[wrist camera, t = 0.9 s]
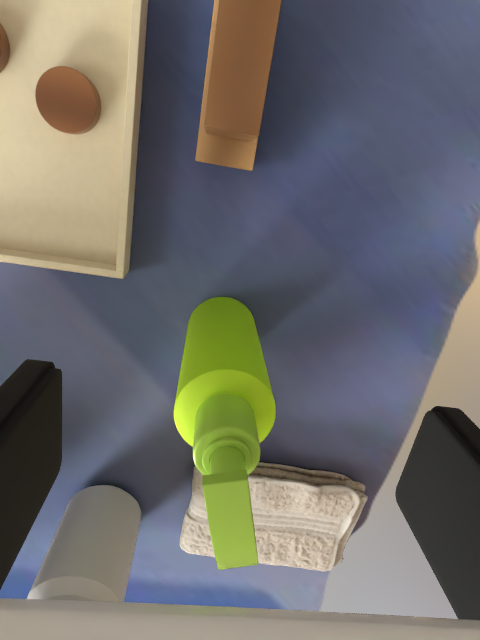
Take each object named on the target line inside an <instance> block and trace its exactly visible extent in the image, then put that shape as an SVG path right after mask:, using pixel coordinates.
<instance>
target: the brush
mask: <svg viewBox="0 0 480 640" xmlns="http://www.w3.org/2000/svg"><path fill="white" fill-rule="evenodd" d="M281 2H282V0H214V7H213V16H212V24H211V33H210V41H209V49H208V58H207V66H206V75H205V83H204V91H203V100H202V108H201V117H200V125H199V134H198V142H197V150H196V159H195V160H196V161H199V162H204V163H210V164H216V165H221V166H227V167H232V168H238V169H244V170H249V171H253V166H254V160H255V154H256V148H257V142H258V136H259V133H260V127H261V121H262V115H263V109H264V103H265V97H266V91H267V85H268V79H269V73H270V67H271V61H272V55H273V50H274V44H275V38H276V32H277V26H278V20H279V14H280V8H281Z"/></svg>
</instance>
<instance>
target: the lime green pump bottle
mask: <svg viewBox="0 0 480 640" xmlns="http://www.w3.org/2000/svg"><path fill="white" fill-rule="evenodd" d="M275 416H276V407H275V401H274V397H273V393H272V389H271V385H270V381H269V377H268V373H267V369H266V365H265V361H264V357H263V353H262V349H261V345H260V341H259V337H258V333H257V329H256V325H255V321H254V318H253V316H252V314H251V312H250V311H249V309H248V308H247V307H246V306H245V305H244V304H242V303H241V302H239V301H238V300H235V299H233V298H229V297H215V298H211V299H208V300H206V301H204V302H202V303H201V304H200V305H199V306H197V307H196V309H195V310H194V311H193V313H192V314H191V316H190V319H189V323H188V328H187V334H186V340H185V346H184V352H183V358H182V364H181V370H180V376H179V382H178V388H177V394H176V400H175V406H174V421H175V424H176V427H177V430H178V432H179V433H180V435H181V436H182V438H183V439H184V440H185V441H186V442H187V443H188V444H190V445H191V446H192V447H193V460H194V463H195V466H196V468H197V469H198V470H199V471H200V473H202V474H203V479H202V487H203V493H204V499H205V506H206V512H207V518H208V524H209V529H210V535H211V540H212V545H213V550H214V554H215V558H216V562H217V566H218V569H219V570H221V569H229V568H237V567H244V566H252V565H258V555H257V546H256V538H255V530H254V522H253V514H252V506H251V498H250V490H249V482H248V475H249V474H250V473H251V472H252V471H253V470H254V469H255V468H256V466H257V465H258V462H259V460H260V444H259V443H261V442H262V441H263V440H264V439H265V438H266V437H267V435H268V434H269V432H270V431H271V429H272V427H273V424H274V421H275Z"/></svg>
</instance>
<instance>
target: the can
mask: <svg viewBox="0 0 480 640" xmlns="http://www.w3.org/2000/svg"><path fill="white" fill-rule="evenodd" d="M140 522H141V510H140V507H139V504H138V502H137V501H136V500H135V499H134V498H133V496H132V495H130V494H128V493H127V492H125V491H124V490H122V489H121V488H118V487H115V486H111V485H97V486H92V487H87V488H85V489H83V490H81V491H78V492H77V493H76V494H75V495H74V496H73V497H72V498H71V499H70V501H69V503H68V505H67V507H66V510H65V512H64V514H63V516H62V519H61V521H60V523H59V526H58V528H57V530H56V533H55V535H54V537H53V540H52V542H51V544H50V546H49V549H48V551H47V553H46V556H45V558H44V560H43V563H42V565H41V567H40V569H39V572H38V574H37V576H36V579H35V581H34V583H33V586H32V588H31V590H30V592H29V595H28V597H27V599H40V600H76V601H109V602H124V598H125V593H126V588H127V583H128V579H129V574H130V569H131V564H132V560H133V555H134V550H135V545H136V541H137V536H138V531H139V526H140Z"/></svg>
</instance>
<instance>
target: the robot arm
mask: <svg viewBox="0 0 480 640" xmlns="http://www.w3.org/2000/svg"><path fill="white" fill-rule="evenodd" d="M61 461H62V371H61V369H56V368H55V366H54V363H53V362H48V361H39V360H30V359H27V360H25V361H24V362H23V363H22V364H21V365H20V366H19V368H18V369H17V370H16V371H15V372H14V373H13V374H12V375H11V376H10V377H9V378H8V379H7V380H6V381H5V382H4V383H3V384H2V386H1V387H0V589H1V587H2V585H3V583H4V581H5V579H6V577H7V575H8V573H9V571H10V569H11V567H12V565H13V563H14V561H15V559H16V557H17V555H18V553H19V551H20V549H21V547H22V545H23V543H24V541H25V539H26V537H27V535H28V533H29V531H30V529H31V527H32V525H33V523H34V521H35V519H36V517H37V515H38V513H39V511H40V509H41V507H42V505H43V503H44V501H45V499H46V497H47V495H48V493H49V491H50V489H51V487H52V485H53V483H54V481H55V479H56V477H57V475H58V473H59V470H60V466H61ZM396 500H397V503H398V505H399V507H400V509H401V511H402V513H403V515H404V517H405V519H406V521H407V522H408V524H409V526H410V528H411V530H412V532H413V534H414V536H415V538H416V540H417V541H418V543H419V545H420V547H421V549H422V551H423V553H424V555H425V556H426V559H427V560H428V562H429V564H430V566H431V568H432V570H433V572H434V574H435V575H436V577H437V579H438V581H439V583H440V585H441V587H442V589H443V591H444V593H445V595H446V596H447V598H448V600H449V602H450V604H451V606H452V608H453V610H454V612H455V613H456V615H457V617H458V619H447V618H430V617H413V616H395V615H375V614H357V613H356V614H355V613H338V612H319V611H300V610H280V609H260V608H240V607H218V606H196V605H174V604H152V603H131V602H109V601H76V600H40V599H0V640H480V429H479V428H478V427H477V426H476V425H475V424H474V423H473V422H472V421H471V420H470V419H469V418H468V417H467V416H466V415H465V414H464V412H462V411H461V410H460V409H457V408H450V407H441V406H436V407H434V408H433V409H432V410H431V411H428V412H427V413H426V414H425V416H424V418H423V421H422V424H421V426H420V429H419V431H418V434H417V436H416V439H415V441H414V444H413V447H412V449H411V452H410V454H409V457H408V460H407V462H406V465H405V467H404V470H403V472H402V475H401V477H400V480H399V482H398V485H397V488H396Z"/></svg>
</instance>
